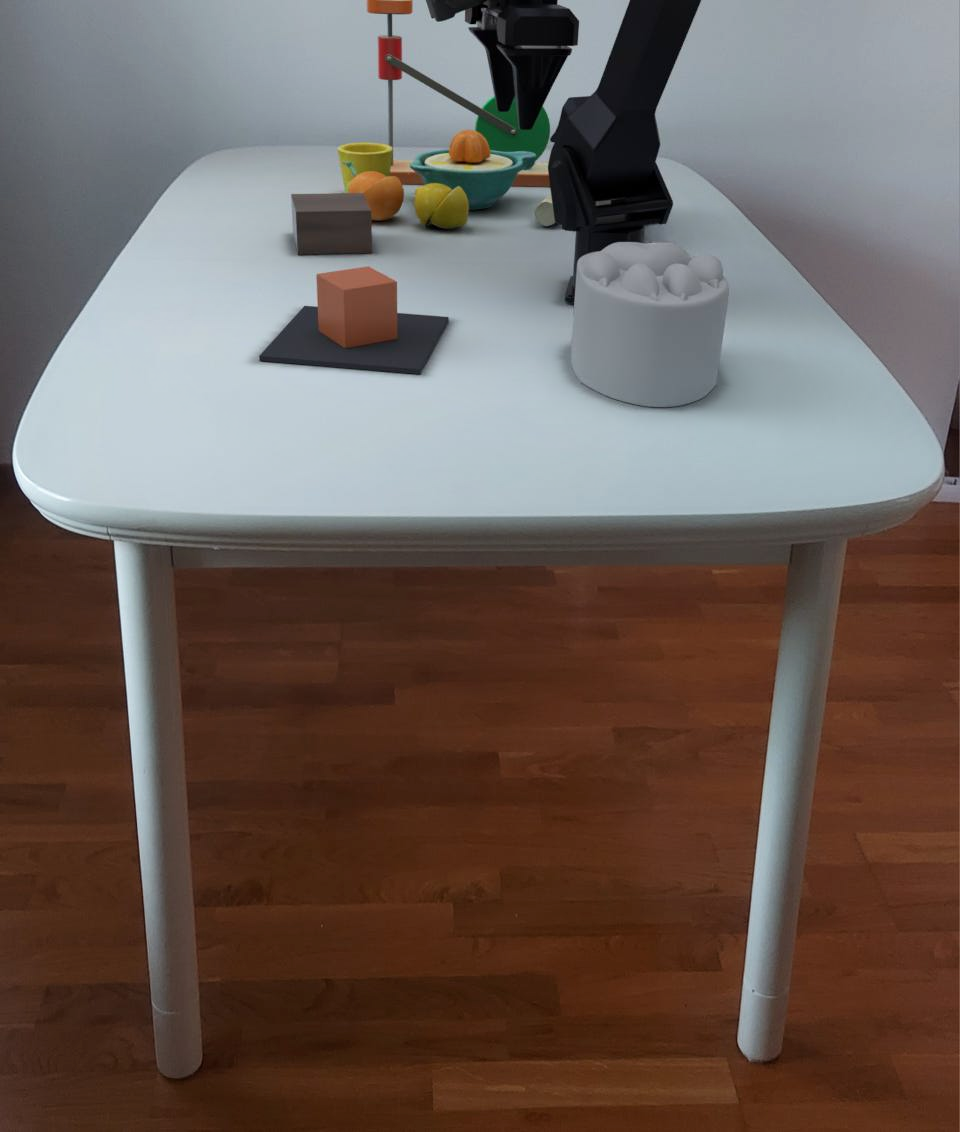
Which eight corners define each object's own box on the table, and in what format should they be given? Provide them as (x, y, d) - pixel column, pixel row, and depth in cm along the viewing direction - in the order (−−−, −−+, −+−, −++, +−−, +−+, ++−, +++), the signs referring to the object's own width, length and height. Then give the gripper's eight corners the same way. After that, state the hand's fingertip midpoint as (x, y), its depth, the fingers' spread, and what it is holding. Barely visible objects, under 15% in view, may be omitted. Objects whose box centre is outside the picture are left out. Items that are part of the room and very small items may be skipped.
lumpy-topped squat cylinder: (694, 343, 92) (708, 232, 88) (735, 407, 81) (753, 283, 77) (563, 342, 91) (570, 230, 87) (586, 406, 80) (596, 282, 76)
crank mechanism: (359, 183, 136) (356, 0, 127) (361, 170, 142) (358, -6, 132) (573, 187, 138) (585, 6, 128) (566, 174, 144) (577, 0, 134)
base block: (372, 253, 111) (371, 210, 109) (297, 254, 110) (295, 211, 108) (363, 233, 117) (362, 192, 115) (293, 235, 116) (290, 194, 114)
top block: (397, 339, 90) (397, 281, 87) (345, 348, 88) (343, 289, 85) (369, 322, 93) (368, 265, 91) (318, 331, 91) (315, 273, 89)
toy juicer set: (330, 232, 118) (327, 151, 114) (340, 189, 133) (338, 117, 129) (614, 236, 119) (621, 157, 115) (591, 194, 135) (596, 123, 131)
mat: (420, 374, 85) (420, 369, 84) (259, 360, 86) (258, 355, 86) (448, 321, 95) (448, 316, 95) (304, 310, 96) (304, 305, 96)
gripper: (411, -81, 106) (411, 103, 114) (447, -72, 90) (444, 140, 98) (531, -77, 108) (523, 103, 116) (587, -68, 92) (573, 139, 100)
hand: (513, 120), depth 107 cm, fingers open, 9 cm apart
